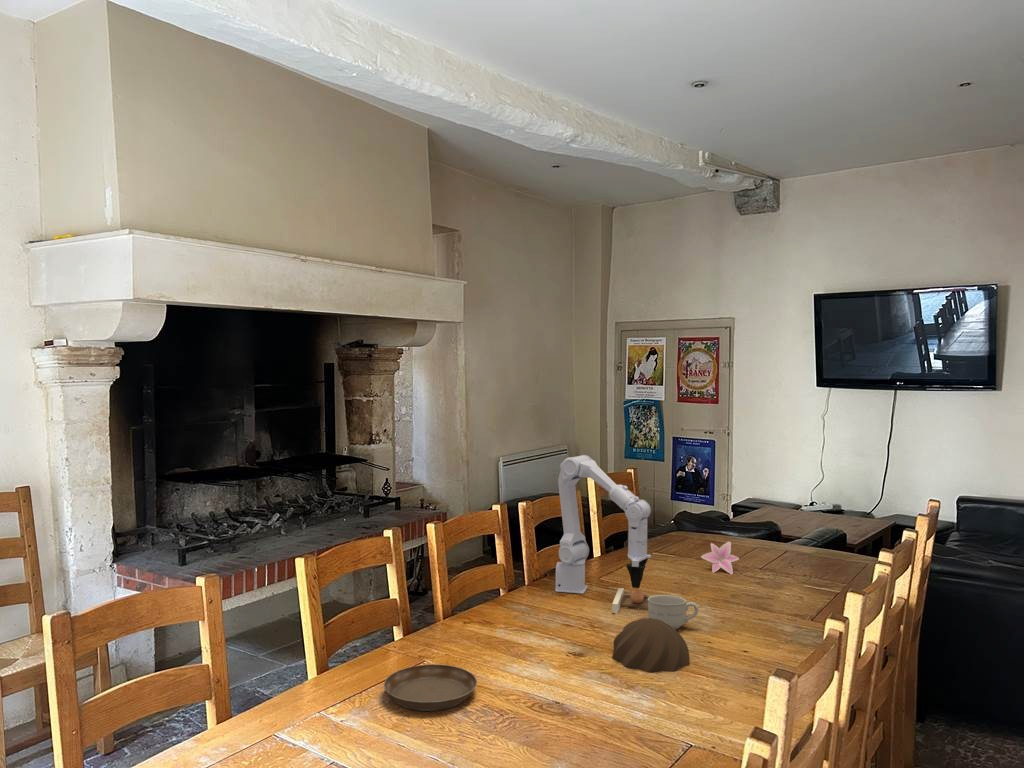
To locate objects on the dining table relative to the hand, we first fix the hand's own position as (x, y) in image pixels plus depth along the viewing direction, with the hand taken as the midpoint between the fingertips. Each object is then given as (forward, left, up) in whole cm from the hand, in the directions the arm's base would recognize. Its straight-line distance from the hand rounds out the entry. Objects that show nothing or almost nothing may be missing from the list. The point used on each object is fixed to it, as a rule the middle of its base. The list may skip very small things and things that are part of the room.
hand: (637, 583), depth 230 cm
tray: (0, 0, -6) cm, 6 cm away
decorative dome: (+7, -41, -7) cm, 42 cm away
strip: (-5, -3, -6) cm, 9 cm away
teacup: (+12, -18, -7) cm, 22 cm away
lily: (+25, +46, -7) cm, 53 cm away
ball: (0, -1, -4) cm, 4 cm away
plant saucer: (-38, -76, -7) cm, 86 cm away
